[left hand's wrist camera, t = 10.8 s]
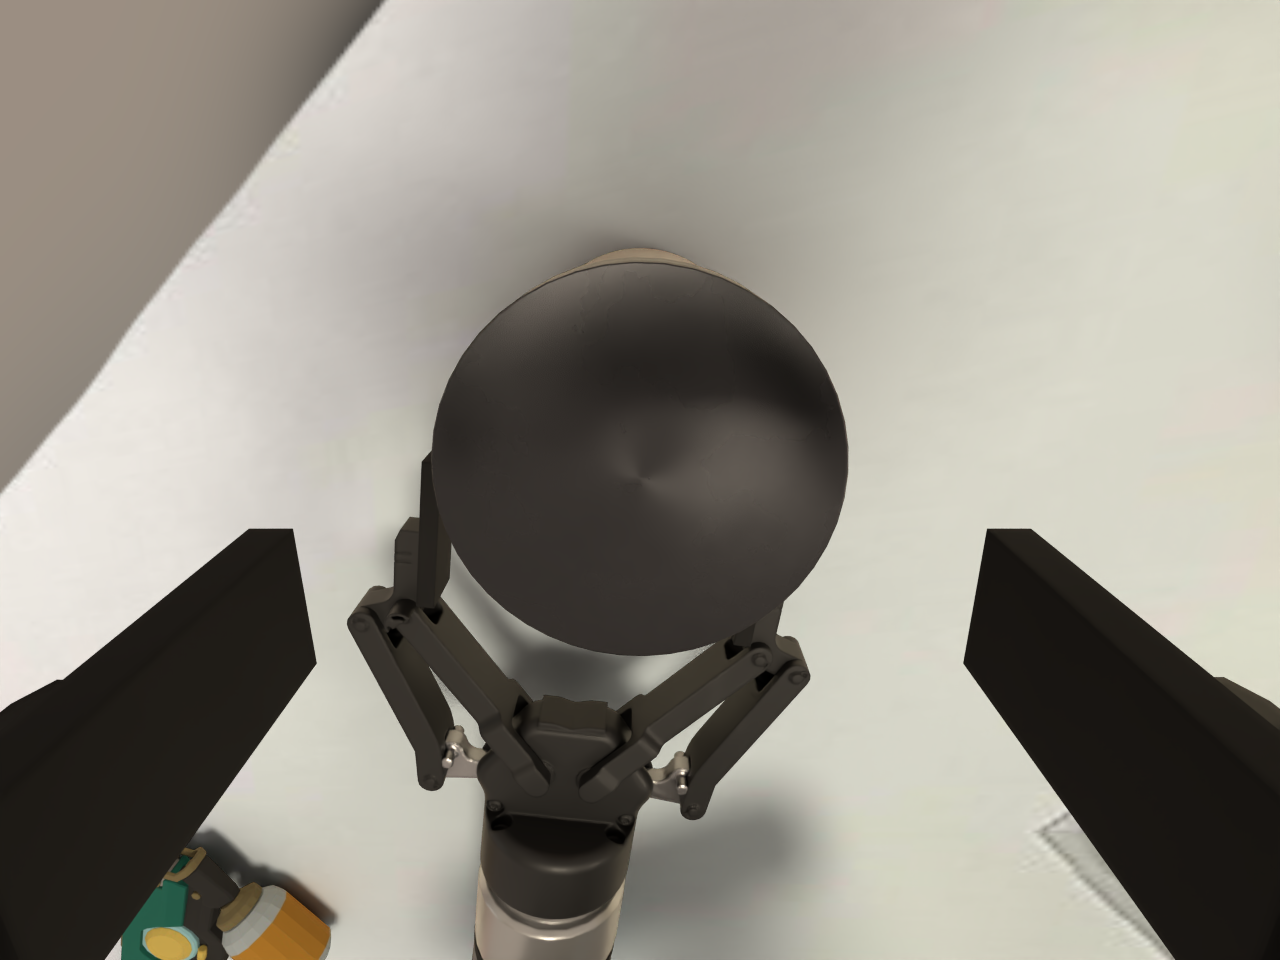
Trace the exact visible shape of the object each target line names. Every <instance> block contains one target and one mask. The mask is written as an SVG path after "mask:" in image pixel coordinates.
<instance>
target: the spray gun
mask: <svg viewBox="0 0 1280 960" xmlns="http://www.w3.org/2000/svg"><path fill="white" fill-rule="evenodd" d="M181 854H182V855H184V856H182V857H181V858H180V859H179V857H178V858H177V859H176V861H175V862H174V864H173V865H172V866H171V868H170V869H169V871H168V872H167V873H166V875H165V876H164V877H163V879H162V880H161V882H160V883H159V884H158V886H157V887H156V889H155V890H154V891H153V893H152V894H151V896H150V897H149V898H148V900H147V901H146V903H145V904H144V905H143V907H142V908H141V910H140V911H139V912H138V914H137V915H136V917H135V918H134V919H133V921H132V922H131V924H130V925H129V926H128V928H127V929H126V931H125V932H124V933H123V935H122V936H121V946H122V953H121V960H227V958H228V957H229V956H230V957H231V958H232V959H234V960H325V959H326V957H327V955H328V952H329V949H330V943H331V929H330V928H329V927H328V926H327V925H326V924H325V923H324V922H322V921H321V920H320V919H319V918H318V917H316V916H315V915H314V914H313V913H312V912H310V911H309V910H308V909H307V908H306V907H305V906H303V905H302V904H301V903H300V902H299V901H297V900H296V899H295V898H294V897H293V896H292V895H290V894H289V893H288V892H287V891H285V890H284V889H282V888H280V887H277V886H274V885H271V886H266V887H261V886H259V885H258V884H257V883H256V882H253V883H250V884H248V885H246V886H244V887H243V888H238V886H237V885H236V883H235V882H234V881H233V880H232V879H231V878H230V877H229V876H228V875H227V874H226V873H225V872H224V871H223V870H222V869H221V868H220V867H219V866H218V865H217V864H216V863H215V862H213V861H212V860H211V859H210V858H209V857H208V856H205V855H206V851H205V850H204V849H203V848H202V847H199V848H197V849H195V850H192V849H189V848H184V850H183V851H182V852H181ZM185 855H186V856H185ZM188 856H190V857H193V858H192V859H191V860H190V859H189V857H188ZM221 907H222V908H221ZM220 908H221V912H220V915H219V911H220Z"/></svg>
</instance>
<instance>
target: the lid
mask: <svg viewBox="0 0 1280 960" xmlns="http://www.w3.org/2000/svg"><path fill="white" fill-rule="evenodd" d="M431 459H432V476H433V486H434V491H435V496H436V501H437V506H438V509H439V512H440V515H441V518H442V521H443V524H444V527H445V530H446V532H447V534H448V536H449V538H450V540H451V542H452V544H453V546H454V548H455V550H456V552H457V554H458V556H459V557H460V559H461V560H462V562H463V563H464V565H465V566H466V568H467V569H468V571H469V572H470V574H471V575H472V576H473V577H474V578H475V580H476V581H477V582H478V583H479V584H480V585H481V586H482V588H483V589H484V590H485V591H486V592H487V593H488V594H489V595H490V596H491V597H492V598H493V599H494V600H495V601H497V602H498V603H499V604H500V605H501V606H502V607H503V608H504V609H506V610H507V611H508V612H510V613H511V614H513V615H514V616H515V617H517V618H518V619H520V620H521V621H523V622H524V623H525V624H527V625H529V626H531V627H533V628H534V629H536V630H538V631H540V632H542V633H544V634H546V635H548V636H550V637H552V638H555V639H557V640H560V641H562V642H565V643H568V644H570V645H573V646H577V647H581V648H584V649H588V650H592V651H596V652H603V653H609V654H616V655H632V656H650V655H663V654H672V653H677V652H682V651H688V650H693V649H696V648H700V647H703V646H706V645H709V644H712V643H716V642H718V641H721V640H723V639H725V638H727V637H730V636H732V635H734V634H736V633H739V632H741V631H742V630H744V629H746V628H747V627H749V626H751V625H752V624H754V623H756V622H757V621H759V620H761V619H762V618H764V617H765V616H766V615H767V614H769V613H770V612H771V611H773V610H774V609H775V608H777V607H778V606H779V605H780V604H782V603H783V602H784V601H785V600H786V599H787V598H788V597H789V596H790V595H791V594H792V593H793V592H794V591H795V590H796V589H797V588H798V587H799V586H800V584H801V583H802V582H803V581H804V579H805V578H806V577H807V576H808V574H809V573H810V572H811V571H812V569H813V568H814V567H815V565H816V563H817V562H818V560H819V558H820V557H821V555H822V553H823V552H824V550H825V549H826V547H827V545H828V543H829V540H830V538H831V536H832V534H833V531H834V529H835V527H836V525H837V522H838V519H839V515H840V512H841V508H842V505H843V501H844V497H845V491H846V484H847V477H848V441H847V434H846V426H845V420H844V416H843V413H842V409H841V406H840V402H839V399H838V395H837V393H836V391H835V388H834V386H833V384H832V382H831V379H830V377H829V375H828V372H827V370H826V369H825V367H824V365H823V364H822V362H821V361H820V359H819V357H818V356H817V354H816V353H815V351H814V349H813V348H812V346H811V345H810V344H809V343H808V342H807V340H806V339H805V338H804V337H803V336H802V335H801V333H800V332H799V331H798V330H797V329H796V327H795V326H794V325H793V324H792V323H791V322H789V321H788V320H787V319H786V318H785V317H784V316H783V315H782V314H781V313H779V312H778V311H777V310H776V309H775V308H774V307H773V306H771V305H770V304H769V303H767V302H766V301H764V300H763V299H762V298H760V297H759V296H757V295H756V294H754V293H753V292H751V291H750V290H748V289H747V288H745V287H744V286H742V285H741V284H739V283H737V282H735V281H733V280H731V279H729V278H727V277H725V276H723V275H721V274H719V273H717V272H715V271H712V270H709V269H706V268H703V267H700V266H696V265H693V264H690V263H686V262H680V261H675V260H669V259H664V258H646V257H630V258H619V259H609V260H604V261H599V262H595V263H591V264H587V265H582V266H579V267H577V268H574V269H572V270H569V271H566V272H564V273H561V274H559V275H556V276H554V277H552V278H551V279H549V280H547V281H545V282H543V283H542V284H540V285H538V286H536V287H534V288H533V289H531V290H530V291H528V292H527V293H526V294H524V295H523V296H521V297H520V298H519V299H517V300H516V301H515V302H513V303H512V304H511V305H509V306H508V307H507V308H505V309H504V310H503V311H501V312H500V313H499V314H498V315H497V316H496V317H495V318H494V319H493V320H492V321H491V322H490V323H489V324H488V325H487V326H486V327H485V328H484V329H483V330H482V331H481V332H480V333H479V334H478V335H477V336H476V338H475V339H474V340H473V342H472V343H471V344H470V346H469V347H468V348H467V350H466V351H465V352H464V354H463V355H462V357H461V358H460V360H459V362H458V364H457V366H456V368H455V369H454V371H453V373H452V375H451V377H450V378H449V380H448V383H447V386H446V388H445V391H444V394H443V396H442V399H441V402H440V404H439V408H438V413H437V417H436V422H435V426H434V430H433V442H432V455H431Z"/></svg>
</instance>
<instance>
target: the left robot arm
mask: <svg viewBox="0 0 1280 960" xmlns="http://www.w3.org/2000/svg"><path fill="white" fill-rule="evenodd" d="M316 664H317V662H316V657H315V651H314V645H313V640H312V634H311V628H310V623H309V617H308V611H307V606H306V600H305V594H304V589H303V583H302V578H301V572H300V566H299V561H298V555H297V549H296V544H295V538H294V532H293V529H248V530H247V531H246V532H244V533H243V534H242V535H241V536H239V537H238V538H237V539H236V540H235V541H233V542H232V543H231V544H230V545H228V546H227V547H226V548H225V549H223V550H222V551H221V552H220V553H219V554H217V555H216V556H215V557H214V558H212V559H211V560H210V561H209V562H207V563H206V564H205V565H204V566H203V567H201V568H200V569H199V570H198V571H196V572H195V573H194V574H193V575H191V576H190V577H189V578H188V579H186V580H185V581H184V582H183V583H182V584H180V585H179V586H178V587H177V588H175V589H174V590H173V591H172V592H170V593H169V594H168V595H167V596H166V597H164V598H163V599H162V600H161V601H159V602H158V603H157V604H156V605H154V606H153V607H152V608H151V609H150V610H148V611H147V612H146V613H145V614H143V615H142V616H141V617H140V618H138V619H137V620H136V621H135V622H134V623H132V624H131V625H130V626H129V627H127V628H126V629H125V630H124V631H122V632H121V633H120V634H119V635H117V636H116V637H115V638H114V639H113V640H111V641H110V642H109V643H108V644H106V645H105V646H104V647H103V648H101V649H100V650H99V651H98V652H97V653H95V654H94V655H93V656H92V657H90V658H89V659H88V660H87V661H85V662H84V663H83V664H82V665H81V666H79V667H78V668H77V669H76V670H74V671H73V672H72V673H71V674H69V675H68V676H67V677H66V678H64V679H63V680H56V681H54V682H52V683H50V684H48V685H46V686H44V687H42V688H40V689H38V690H36V691H35V692H33V693H31V694H29V695H27V696H25V697H23V698H21V699H19V700H17V701H15V702H14V703H12V704H10V705H9V706H8V707H6V708H5V709H4V710H2V711H1V712H0V960H105V959H106V957H107V956H108V954H109V953H110V952H111V950H112V949H113V947H114V946H115V945H116V943H117V942H118V940H119V939H120V938H121V936H122V935H123V933H124V932H125V931H126V929H127V928H128V926H129V925H130V924H131V922H132V921H133V919H134V918H135V917H136V915H137V914H138V912H139V911H140V910H141V908H142V907H143V905H144V904H145V903H146V901H147V900H148V898H149V897H150V896H151V894H152V893H153V891H154V890H155V889H156V887H157V886H158V884H159V883H160V882H161V880H162V879H163V877H164V876H165V875H166V873H167V872H168V871H169V869H170V868H171V866H172V865H173V864H174V862H175V861H176V859H177V858H178V857H179V855H180V854H181V852H182V851H183V850H184V848H185V847H186V845H187V844H188V843H189V841H190V840H191V838H192V837H193V836H194V834H195V833H196V831H197V830H198V829H199V827H200V826H201V824H202V823H203V822H204V820H205V819H206V817H207V816H208V815H209V813H210V812H211V810H212V809H213V808H214V806H215V805H216V803H217V802H218V801H219V799H220V798H221V796H222V795H223V794H224V792H225V791H226V789H227V788H228V787H229V785H230V784H231V782H232V781H233V780H234V778H235V777H236V775H237V774H238V773H239V771H240V770H241V768H242V767H243V766H244V764H245V763H246V761H247V760H248V759H249V757H250V756H251V755H252V753H253V752H254V750H255V749H256V748H257V746H258V745H259V743H260V742H261V741H262V739H263V738H264V736H265V735H266V734H267V732H268V731H269V729H270V728H271V727H272V725H273V724H274V722H275V721H276V720H277V718H278V717H279V715H280V714H281V713H282V711H283V710H284V708H285V707H286V706H287V704H288V703H289V701H290V700H291V699H292V697H293V696H294V694H295V693H296V692H297V690H298V689H299V687H300V686H301V685H302V683H303V682H304V680H305V679H306V678H307V676H308V675H309V673H310V672H311V671H312V669H313V668H314V666H315V665H316ZM963 664H964V665H965V666H966V668H967V669H968V671H969V672H970V673H971V675H972V676H973V678H974V679H975V680H976V682H977V683H978V685H979V686H980V687H981V689H982V690H983V692H984V693H985V694H986V696H987V697H988V699H989V700H990V701H991V703H992V704H993V706H994V707H995V708H996V710H997V711H998V713H999V714H1000V715H1001V717H1002V718H1003V720H1004V721H1005V722H1006V724H1007V725H1008V727H1009V728H1010V729H1011V731H1012V732H1013V734H1014V735H1015V736H1016V738H1017V739H1018V741H1019V742H1020V743H1021V745H1022V746H1023V748H1024V749H1025V750H1026V752H1027V753H1028V755H1029V756H1030V757H1031V759H1032V760H1033V761H1034V763H1035V764H1036V766H1037V767H1038V768H1039V770H1040V771H1041V773H1042V774H1043V775H1044V777H1045V778H1046V780H1047V781H1048V782H1049V784H1050V785H1051V787H1052V788H1053V789H1054V791H1055V792H1056V794H1057V795H1058V796H1059V798H1060V799H1061V801H1062V802H1063V803H1064V805H1065V806H1066V808H1067V809H1068V810H1069V812H1070V813H1071V815H1072V816H1073V817H1074V819H1075V820H1076V822H1077V823H1078V824H1079V826H1080V827H1081V829H1082V830H1083V831H1084V833H1085V834H1086V836H1087V837H1088V838H1089V840H1090V841H1091V843H1092V844H1093V845H1094V847H1095V848H1096V850H1097V851H1098V852H1099V854H1100V855H1101V857H1102V858H1103V859H1104V861H1105V862H1106V864H1107V865H1108V866H1109V868H1110V869H1111V871H1112V872H1113V873H1114V875H1115V876H1116V877H1117V879H1118V880H1119V882H1120V883H1121V884H1122V886H1123V887H1124V889H1125V890H1126V891H1127V893H1128V894H1129V896H1130V897H1131V898H1132V900H1133V901H1134V903H1135V904H1136V905H1137V907H1138V908H1139V910H1140V911H1141V912H1142V914H1143V915H1144V917H1145V918H1146V919H1147V921H1148V922H1149V924H1150V925H1151V926H1152V928H1153V929H1154V931H1155V932H1156V933H1157V935H1158V936H1159V938H1160V939H1161V940H1162V942H1163V943H1164V945H1165V946H1166V947H1167V949H1168V950H1169V952H1170V953H1171V954H1172V956H1173V957H1174V959H1175V960H1280V709H1279V708H1278V707H1277V706H1276V705H1274V704H1273V703H1272V702H1270V701H1269V700H1267V699H1265V698H1263V697H1261V696H1259V695H1257V694H1255V693H1253V692H1251V691H1249V690H1248V689H1246V688H1244V687H1242V686H1240V685H1238V684H1236V683H1234V682H1232V681H1230V680H1228V679H1226V678H1224V677H1213V676H1212V675H1211V674H1209V673H1208V672H1207V671H1206V670H1204V669H1203V668H1202V667H1201V666H1199V665H1198V664H1197V663H1196V662H1195V661H1193V660H1192V659H1191V658H1190V657H1188V656H1187V655H1186V654H1185V653H1183V652H1182V651H1181V650H1180V649H1179V648H1177V647H1176V646H1175V645H1174V644H1172V643H1171V642H1170V641H1169V640H1167V639H1166V638H1165V637H1164V636H1163V635H1161V634H1160V633H1159V632H1158V631H1156V630H1155V629H1154V628H1153V627H1151V626H1150V625H1149V624H1148V623H1146V622H1145V621H1144V620H1143V619H1142V618H1140V617H1139V616H1138V615H1137V614H1135V613H1134V612H1133V611H1132V610H1130V609H1129V608H1128V607H1127V606H1126V605H1124V604H1123V603H1122V602H1121V601H1119V600H1118V599H1117V598H1116V597H1114V596H1113V595H1112V594H1111V593H1110V592H1108V591H1107V590H1106V589H1105V588H1103V587H1102V586H1101V585H1100V584H1098V583H1097V582H1096V581H1095V580H1094V579H1092V578H1091V577H1090V576H1089V575H1087V574H1086V573H1085V572H1084V571H1082V570H1081V569H1080V568H1079V567H1077V566H1076V565H1075V564H1074V563H1073V562H1071V561H1070V560H1069V559H1068V558H1066V557H1065V556H1064V555H1063V554H1061V553H1060V552H1059V551H1058V550H1057V549H1055V548H1054V547H1053V546H1052V545H1050V544H1049V543H1048V542H1047V541H1045V540H1044V539H1043V538H1042V537H1041V536H1039V535H1038V534H1037V533H1036V532H1034V531H1033V530H1032V529H987V532H986V538H985V544H984V549H983V555H982V561H981V566H980V572H979V578H978V583H977V589H976V594H975V600H974V606H973V611H972V617H971V623H970V628H969V634H968V640H967V645H966V651H965V657H964V662H963Z"/></svg>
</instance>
